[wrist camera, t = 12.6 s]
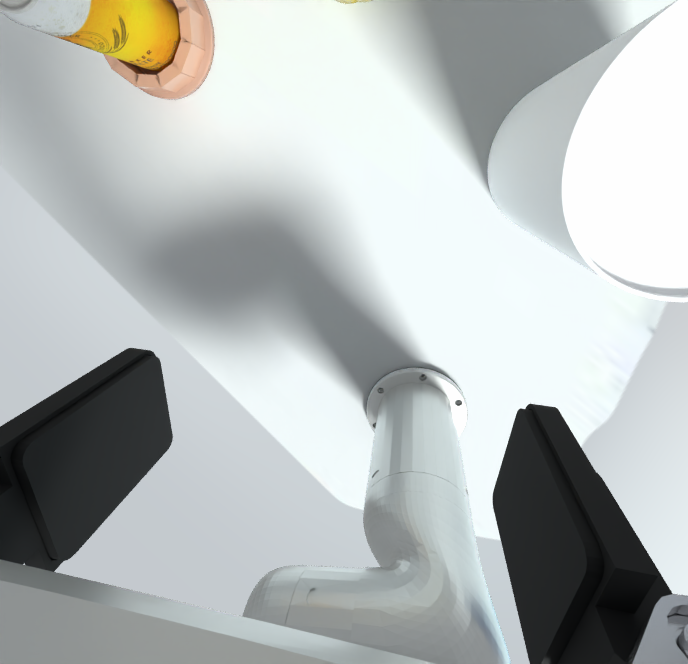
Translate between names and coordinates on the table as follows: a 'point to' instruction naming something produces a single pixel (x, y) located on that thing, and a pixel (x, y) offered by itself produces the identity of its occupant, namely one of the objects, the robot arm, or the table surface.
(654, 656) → the robot arm
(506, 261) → the table surface
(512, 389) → the table surface
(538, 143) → the canister
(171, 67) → the jar base
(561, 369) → the table surface
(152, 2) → the beer can
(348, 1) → the bread roll
